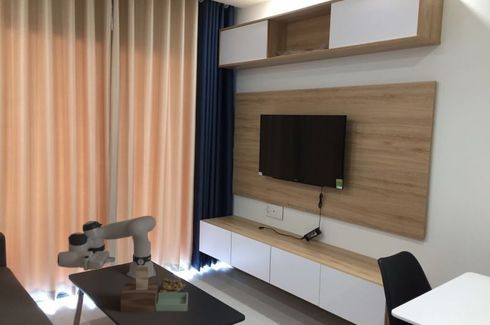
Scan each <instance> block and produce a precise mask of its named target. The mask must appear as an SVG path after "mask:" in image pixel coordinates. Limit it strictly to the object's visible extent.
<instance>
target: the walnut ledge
mask: <svg viewBox="0 0 490 325" xmlns="http://www.w3.org/2000/svg"><path fill="white" fill-rule="evenodd" d="M158 293H159V283H158V282H148V288H147V290H136V282H125V284H124V287H123V289H122V291H121V292H120V313H122V312H123V313H138V312H139V313H140V312H141V313H149V312H150V313H153V312H154V313H155V312H156V304H157V302H158Z"/></svg>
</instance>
